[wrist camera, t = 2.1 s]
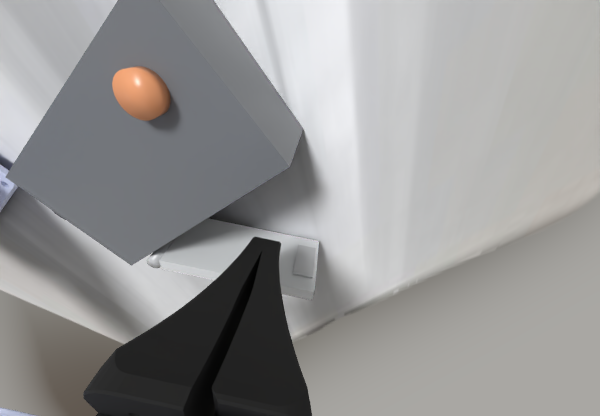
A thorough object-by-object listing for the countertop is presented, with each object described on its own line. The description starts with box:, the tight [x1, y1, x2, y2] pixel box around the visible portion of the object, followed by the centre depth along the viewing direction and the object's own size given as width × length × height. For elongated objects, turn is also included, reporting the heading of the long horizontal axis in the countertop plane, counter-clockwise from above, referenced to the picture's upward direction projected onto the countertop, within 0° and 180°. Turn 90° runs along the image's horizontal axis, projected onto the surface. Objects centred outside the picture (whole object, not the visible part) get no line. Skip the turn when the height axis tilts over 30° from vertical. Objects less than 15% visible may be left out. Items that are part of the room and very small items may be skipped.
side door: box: [147, 218, 319, 300], centre depth 16 cm, size 10×1×4 cm, turn 81°
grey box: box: [6, 0, 303, 265], centre depth 13 cm, size 13×7×5 cm, turn 126°
